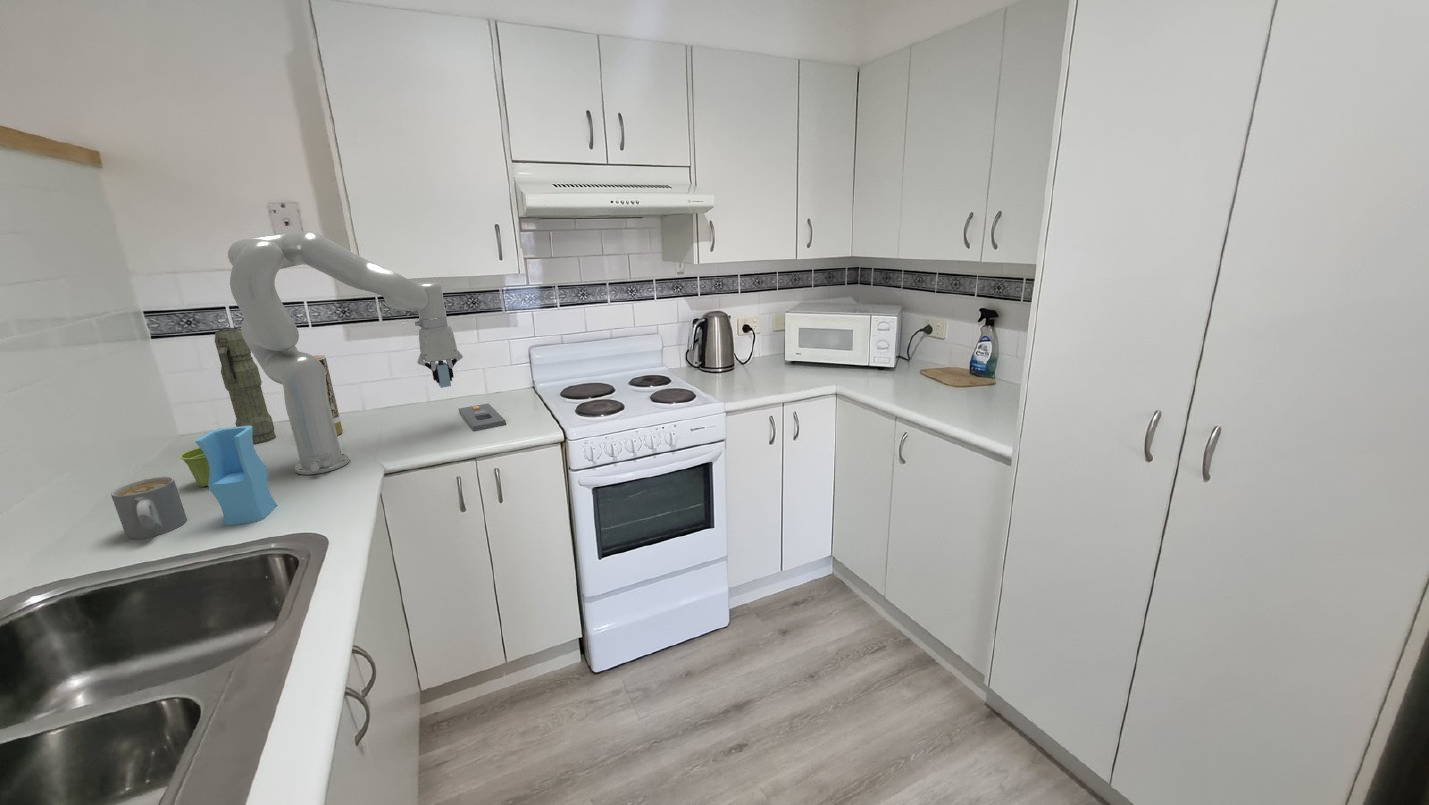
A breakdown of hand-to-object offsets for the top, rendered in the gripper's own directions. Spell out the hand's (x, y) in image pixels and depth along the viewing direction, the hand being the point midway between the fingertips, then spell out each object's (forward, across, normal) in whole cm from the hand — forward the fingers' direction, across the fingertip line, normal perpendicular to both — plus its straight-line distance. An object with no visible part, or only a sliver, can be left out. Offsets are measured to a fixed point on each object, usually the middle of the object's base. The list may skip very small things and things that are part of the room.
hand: (444, 380), depth 184 cm
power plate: (+15, +10, +2) cm, 18 cm away
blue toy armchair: (+15, -50, -38) cm, 65 cm away
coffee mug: (+15, -67, -34) cm, 77 cm away
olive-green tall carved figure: (+15, -52, +26) cm, 60 cm away
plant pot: (+15, -59, -8) cm, 62 cm away
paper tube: (+15, -33, +16) cm, 40 cm away
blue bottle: (+2, 0, 0) cm, 2 cm away
